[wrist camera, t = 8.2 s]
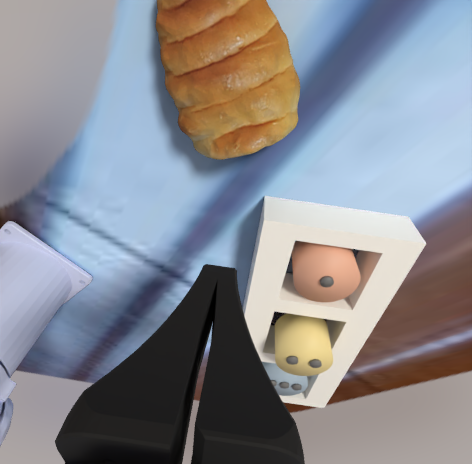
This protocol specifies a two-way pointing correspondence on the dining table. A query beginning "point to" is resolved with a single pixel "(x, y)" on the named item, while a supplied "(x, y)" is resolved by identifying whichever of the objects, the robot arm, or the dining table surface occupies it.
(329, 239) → the button panel
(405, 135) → the dining table surface
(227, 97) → the pastry
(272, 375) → the slate button
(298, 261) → the terracotta button
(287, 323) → the mustard button
